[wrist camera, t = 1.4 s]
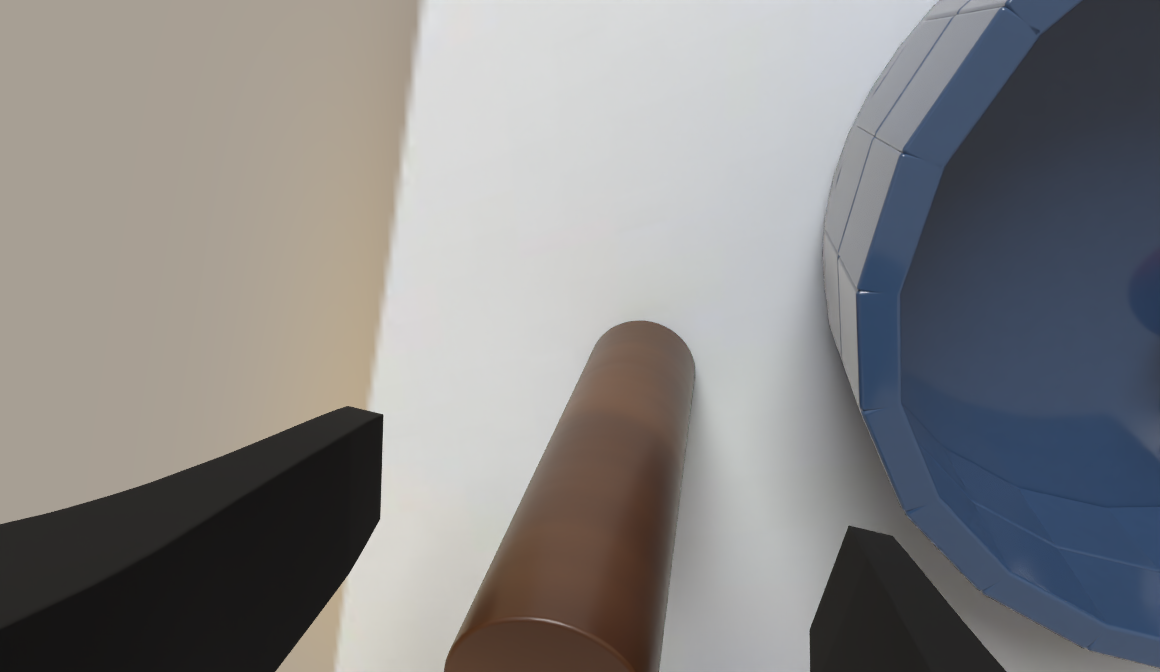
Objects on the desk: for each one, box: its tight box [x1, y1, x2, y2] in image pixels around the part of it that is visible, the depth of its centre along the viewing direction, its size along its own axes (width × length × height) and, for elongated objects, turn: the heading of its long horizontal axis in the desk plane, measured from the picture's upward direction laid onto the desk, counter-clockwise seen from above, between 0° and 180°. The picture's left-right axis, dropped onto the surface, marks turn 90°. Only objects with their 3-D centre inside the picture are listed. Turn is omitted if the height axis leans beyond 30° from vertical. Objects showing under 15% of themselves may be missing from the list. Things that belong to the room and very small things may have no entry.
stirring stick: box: [444, 321, 695, 672], centre depth 12 cm, size 2×2×9 cm
